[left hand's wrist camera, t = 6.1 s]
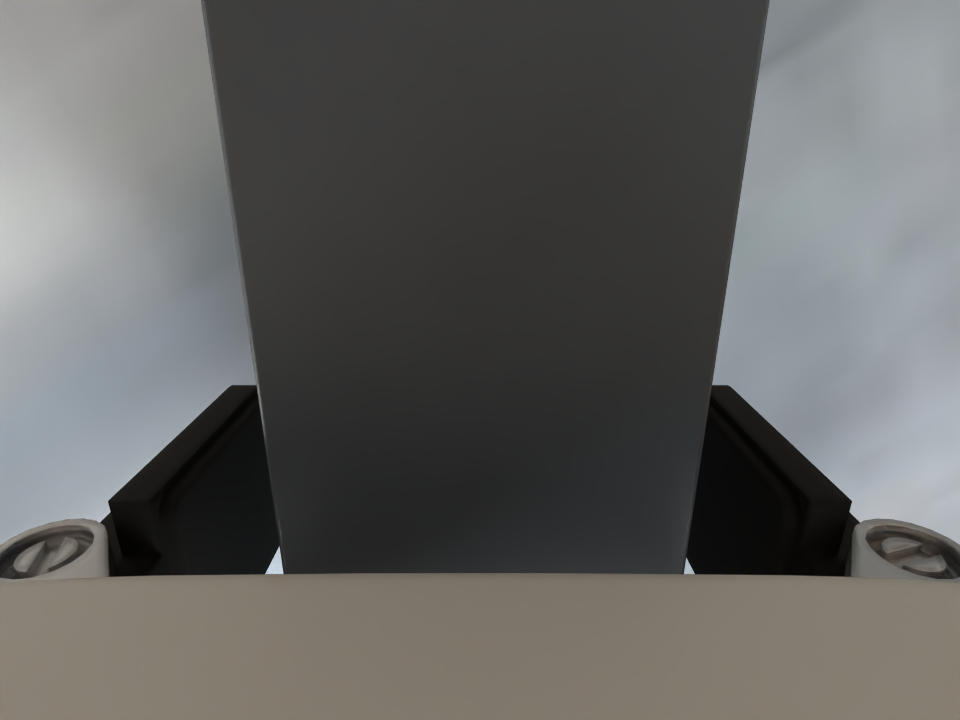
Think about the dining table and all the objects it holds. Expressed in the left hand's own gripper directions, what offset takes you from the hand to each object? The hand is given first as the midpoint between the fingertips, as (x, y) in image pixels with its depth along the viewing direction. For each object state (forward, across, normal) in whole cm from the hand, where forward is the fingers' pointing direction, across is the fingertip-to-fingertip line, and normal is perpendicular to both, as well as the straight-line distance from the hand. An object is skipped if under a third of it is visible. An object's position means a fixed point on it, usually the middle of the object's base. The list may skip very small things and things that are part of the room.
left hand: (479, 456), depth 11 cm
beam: (+4, 0, -24) cm, 24 cm away
